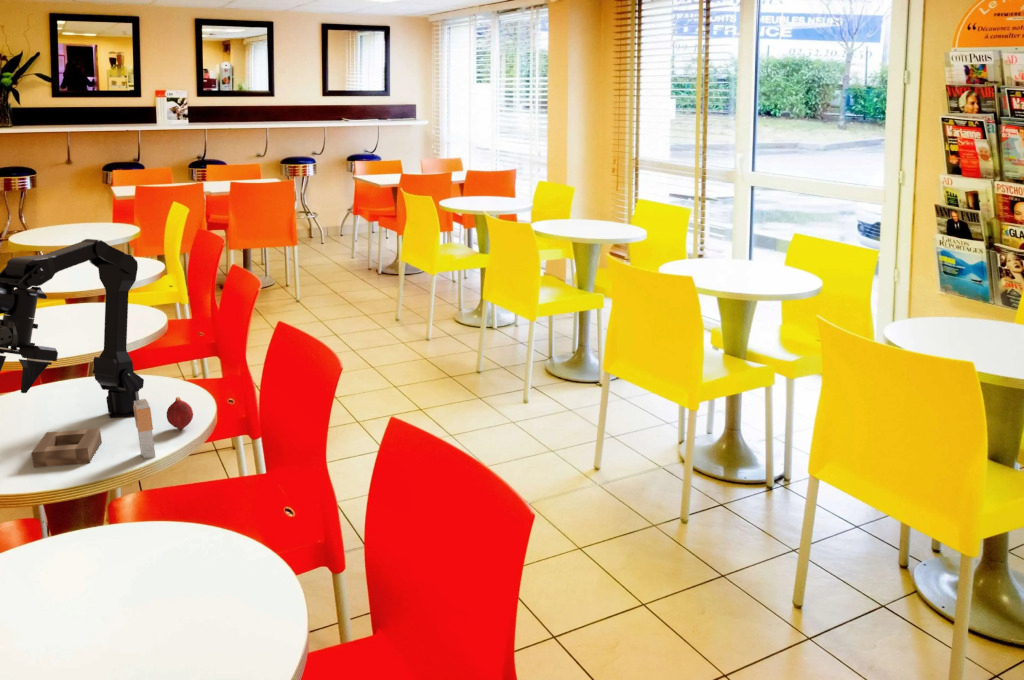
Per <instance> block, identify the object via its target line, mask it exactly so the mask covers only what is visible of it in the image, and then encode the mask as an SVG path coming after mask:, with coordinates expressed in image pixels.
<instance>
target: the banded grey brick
mask: <svg viewBox="0 0 1024 680" xmlns="http://www.w3.org/2000/svg"><path fill="white" fill-rule="evenodd" d="M133 408H134V415H135V416H134V419H135V420H134V421H135V427H136V429H137V435H138V441H139V450H140V455H141V457H142V459H143V460H148V458H149V459H153V458H156V451H155V450H156V449H155V443H154V436H153V435H154V434H153V430H154V426H153V419H152V412H151V410H152V409H151V407H150V404H149V402H148V400H147V399H146V398H141V399H139V400H136V401H134V405H133Z"/></svg>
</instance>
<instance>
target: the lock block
mask: <svg viewBox="0 0 1024 680" xmlns="http://www.w3.org/2000/svg"><path fill="white" fill-rule="evenodd" d="M101 435H102V434H101V428H100V427H99V428H87V429H86V428H85V429H73V430H60V431H59V430H58V431H47V432H46V433H44V435H43V436H42V438H41V439H40V441H39V442H38V443H37V444H36V445H35V447H34V448H33V449H32V451H31V452H30V453H31V459H32V465H33V468H34V469H35V468H44V467H46V468H47V467H56V466H58V465H59V466H69V465H81V464H82V463H83V464H90V463H91V462H92V460H93V459H92V458H94V457H95V455H96V453H97V452H98V450H99V448H100V447H101V445H102V443H103V442H102V440H103V439H102V436H101ZM99 446H100V447H99ZM96 451H97V452H96ZM94 454H95V455H94ZM93 456H94V457H93ZM90 461H91V462H90ZM83 464H82V465H83Z"/></svg>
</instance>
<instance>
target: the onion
mask: <svg viewBox="0 0 1024 680" xmlns="http://www.w3.org/2000/svg"><path fill="white" fill-rule="evenodd" d="M193 417H194V411H193V408H192V406H191V405H190V404H189V403H188V402H186V401H184V400H182V399H181V397H179V396H176V398H175V401H174V402H172V403H171V404H170V405H169V407H168V408H167V411H166V419H167V422H168V423H169V424H170V425H171V426H172V427H174V428H176V429H178V430H184V429H185V428H186V427H188V426H189V424H190V423H191V421H192V420H193V419H194V418H193Z"/></svg>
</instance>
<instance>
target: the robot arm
mask: <svg viewBox="0 0 1024 680" xmlns="http://www.w3.org/2000/svg"><path fill="white" fill-rule="evenodd" d="M86 262H89V263H90V264H91V265H92V266H94V267H96V268H97V270H98V276H99V277H98V278H99V281H100V282H101V284H102V286H103V288H104V290H105V302H104V303H105V304H104V306H105V307H104V329H103V330H104V331H103V332H104V333H103V337H104V338H103V340H104V341H103V350H102V351H101V353H100V354H99V356H94V357H93V361H92V362H93V370H92V374H94V380H95V381H96V382H97V383H98V384H99V386H100V388H101V389H102V390H104V391H107V396H106V399H105V400H106V405H107V412H108V413H109V415H108V416H109V418H121V417H123V418H124V417H135V415H134V408H133V405H134V401H136V400H140V395H139V392H140V390H141V389H143V388H144V383H145V379H144V378H142V377H141V376H140V375H139V374H137V373H135V372H134V363H133V361H132V358H131V356H130V354H129V352H128V350H127V343H128V313H129V293H130V290H131V288H132V287H133V285H134V284H135V282H136V281H137V275H138V269H139V268H138V267H139V265H138V260H137V259H136V258H135V257H134V256H133V255H131V254H129V253H128V254H127V253H125V252H124V251H123V250H122V251H121V250H119V249H117V248H115V247H113V246H111V245H109V244H107V243H106V242H105V241H103V239H102V240H101V239H92V238H85V239H83V240H82V241H80V242H77V243H76V242H75V243H74V244H70V245H68V246H65V247H62V248H59V249H57V250H53V251H50V252H47V253H44V254H37V255H25V256H23V255H22V256H16V257H12V258H10V259H9V260H7V261H6V266H5V267H4V268H3V269H2V270H1V271H0V315H2V314H3V316H2V318H1V319H0V354H1V355H0V373H1V371H2V369H3V366H4V363H5V361H6V358H7V355H4V354H5V353H6V354H13V355H20V356H21V358H19V359H18V361H19V364H20V365H21V367H22V372H21V379H20V380H21V381H20V393H21V394H27V393H28V391H29V390H30V388H31V387H32V386H33V384H35V382H36V381H37V379H38V378H39V376H41V374H42V373H43V372H44V371H45V370H46V369H47V367H48V366H49V365H50V366H51V365H52V362H57V361H58V355H59V352H58V350H57V349H56V347H50V346H42V345H36V343H35V342H32V336H33V330H34V329H36V330H38V328H39V324H37V323H34V322H35V318H36V317H35V316H36V310H37V305H38V299H40V300H41V299H43V300H46V299H48V296H47V294H46V293H45V292H44V291H43V290H42V288H41V287H40V286H42V285H44V284H45V283H48V282H49V281H51V280H52V279H53V278H54V276H55V274H57V273H59V272H61V271H64V270H67V269H69V268H72V267H74V266H77V265H80V264H83V263H86ZM22 358H23V359H22Z"/></svg>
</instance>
